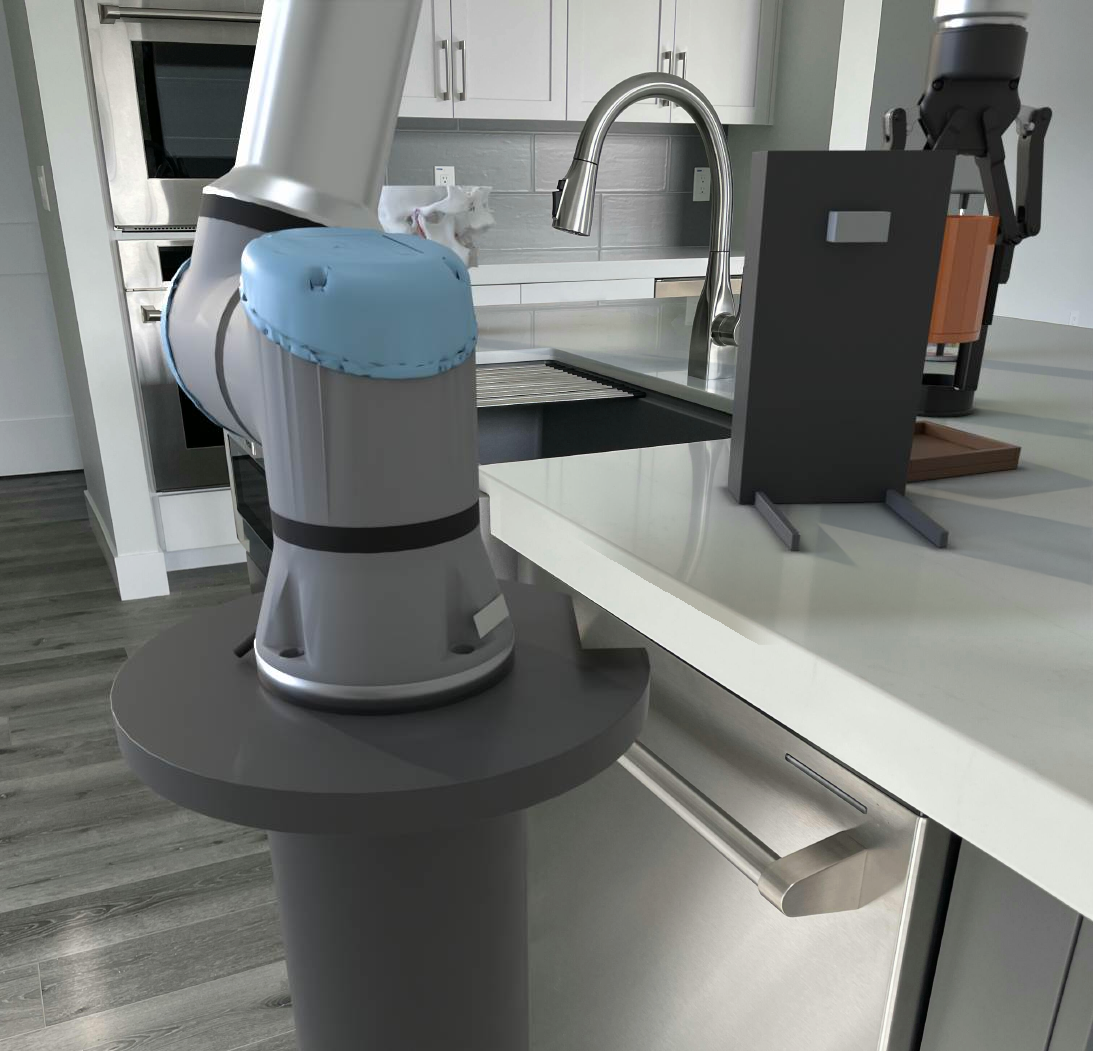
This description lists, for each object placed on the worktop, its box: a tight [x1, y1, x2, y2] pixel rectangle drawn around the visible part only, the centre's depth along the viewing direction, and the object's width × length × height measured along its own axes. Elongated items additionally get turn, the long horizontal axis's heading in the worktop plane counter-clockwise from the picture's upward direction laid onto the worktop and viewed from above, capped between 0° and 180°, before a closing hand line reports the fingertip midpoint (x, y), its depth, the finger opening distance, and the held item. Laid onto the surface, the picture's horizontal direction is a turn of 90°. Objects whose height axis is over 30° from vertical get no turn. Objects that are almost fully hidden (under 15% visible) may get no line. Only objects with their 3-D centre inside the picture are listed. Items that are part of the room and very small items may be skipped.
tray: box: [907, 420, 1022, 483], centre depth 103 cm, size 13×13×2 cm
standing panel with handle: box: [726, 149, 957, 551], centre depth 81 cm, size 14×18×26 cm
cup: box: [928, 214, 999, 344], centre depth 96 cm, size 8×8×10 cm
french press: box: [917, 188, 989, 418], centre depth 120 cm, size 12×9×23 cm
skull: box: [378, 185, 498, 270], centre depth 181 cm, size 25×19×23 cm
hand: (935, 323), depth 98 cm, fingers closed on cup, 8 cm apart
